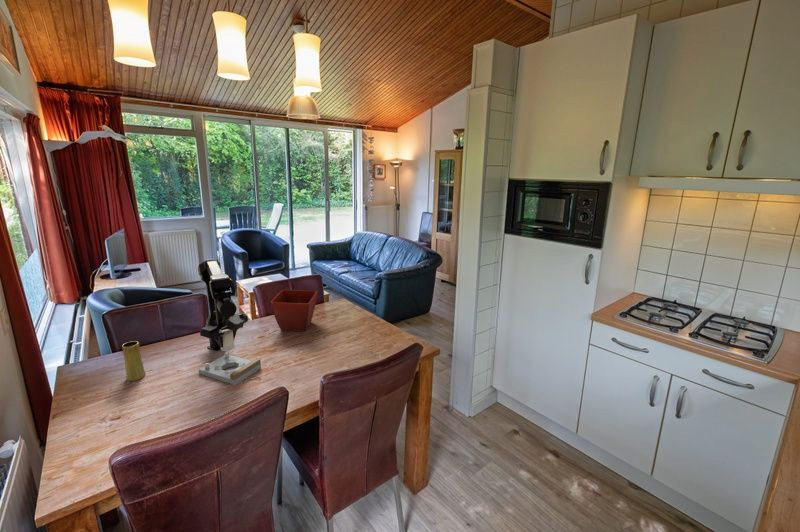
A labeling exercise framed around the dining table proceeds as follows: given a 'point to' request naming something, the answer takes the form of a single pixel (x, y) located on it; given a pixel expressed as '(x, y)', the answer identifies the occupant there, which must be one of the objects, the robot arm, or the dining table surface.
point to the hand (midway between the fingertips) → (227, 344)
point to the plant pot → (294, 309)
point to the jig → (231, 376)
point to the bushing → (227, 340)
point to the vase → (133, 361)
